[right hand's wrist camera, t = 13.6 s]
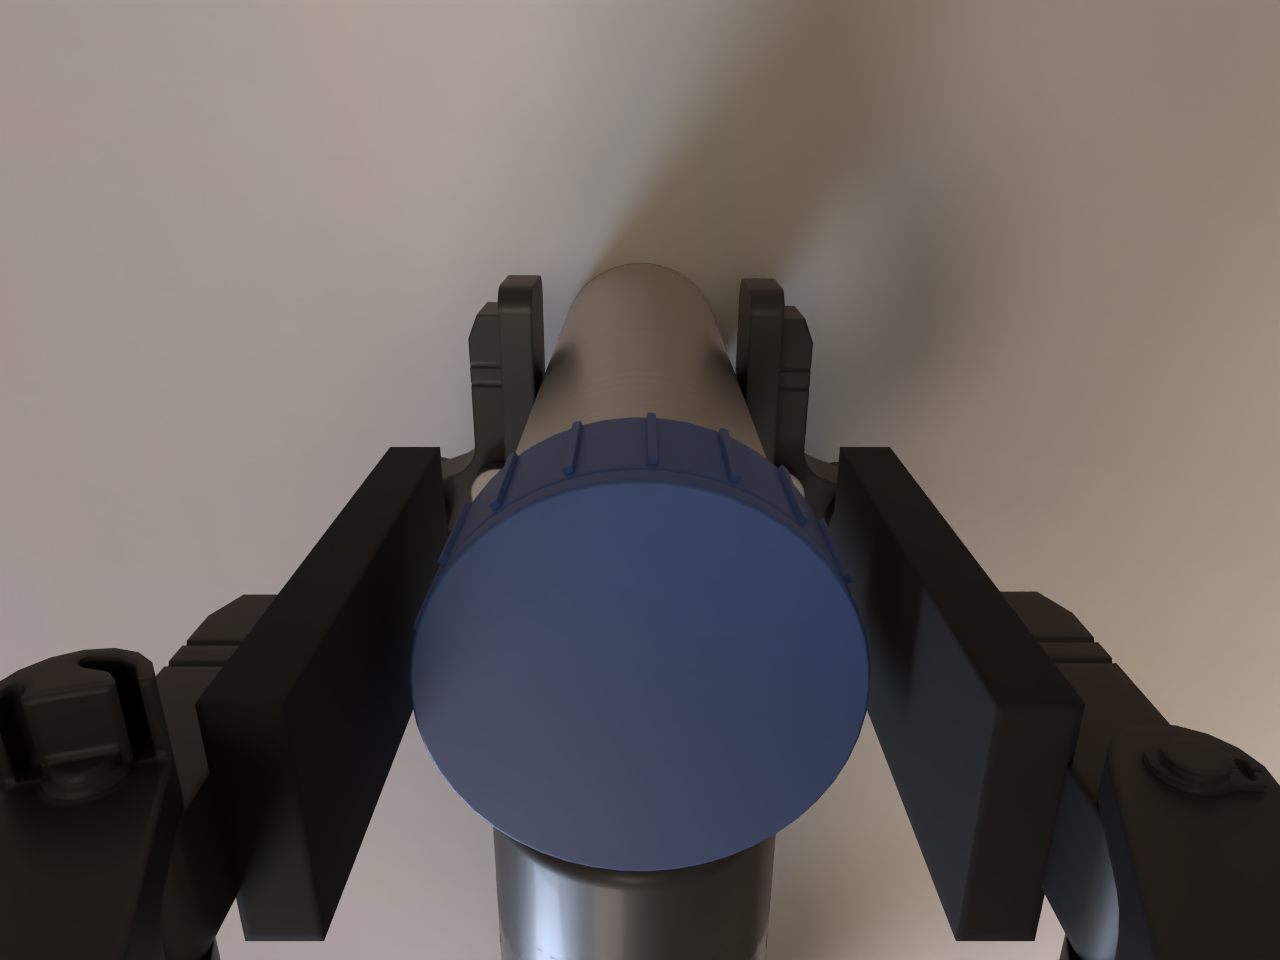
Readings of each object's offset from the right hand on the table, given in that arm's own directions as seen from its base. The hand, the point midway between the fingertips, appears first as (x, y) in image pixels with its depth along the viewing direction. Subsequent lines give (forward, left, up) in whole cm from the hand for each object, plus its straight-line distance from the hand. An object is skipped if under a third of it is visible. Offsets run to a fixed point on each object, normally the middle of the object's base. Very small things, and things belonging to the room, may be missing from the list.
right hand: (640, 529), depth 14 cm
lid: (0, 0, +4) cm, 4 cm away
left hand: (+1, -2, -7) cm, 7 cm away
